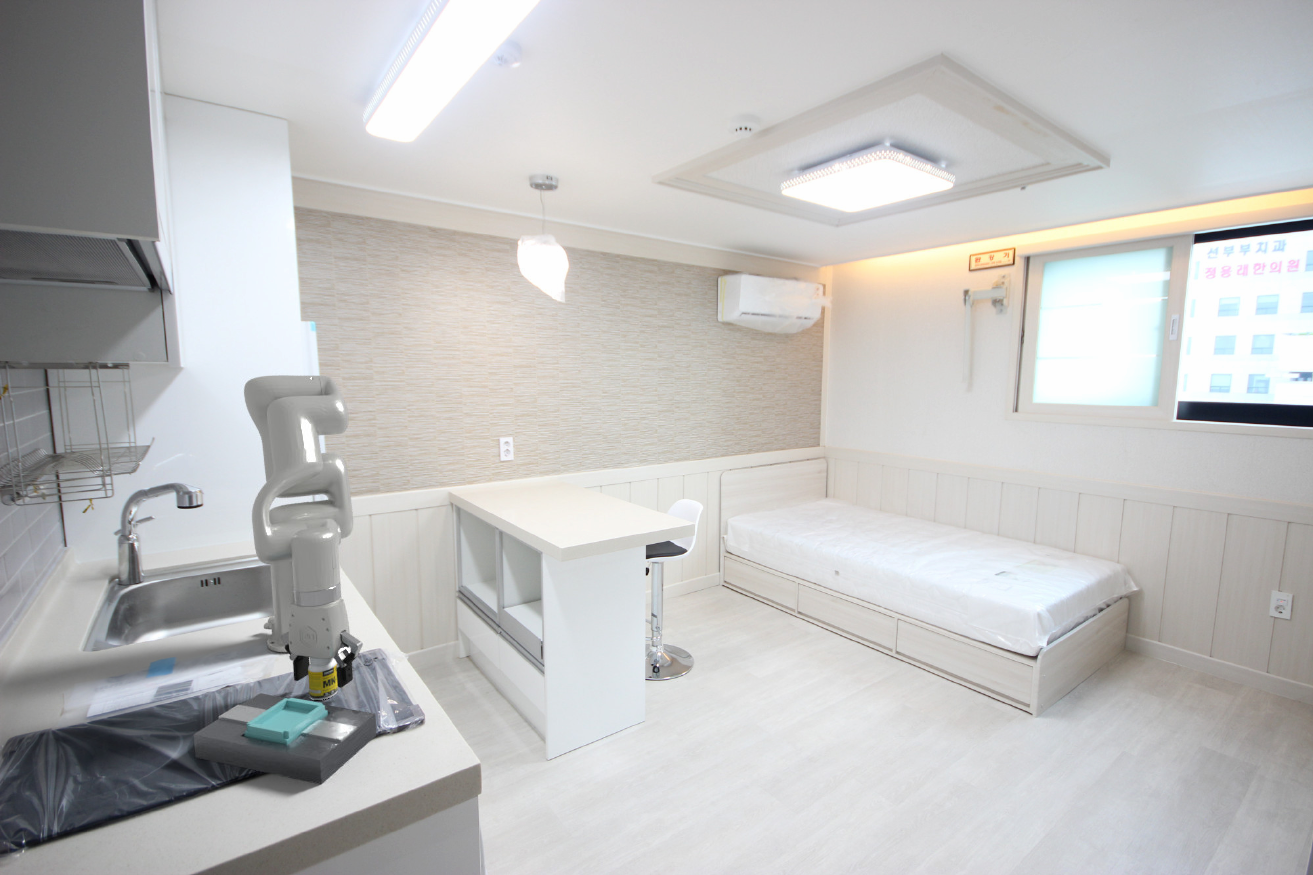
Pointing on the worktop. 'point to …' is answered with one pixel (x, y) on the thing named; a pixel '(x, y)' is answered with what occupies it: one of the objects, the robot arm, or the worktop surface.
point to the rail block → (300, 759)
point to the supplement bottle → (322, 678)
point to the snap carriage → (285, 721)
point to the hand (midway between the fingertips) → (323, 680)
